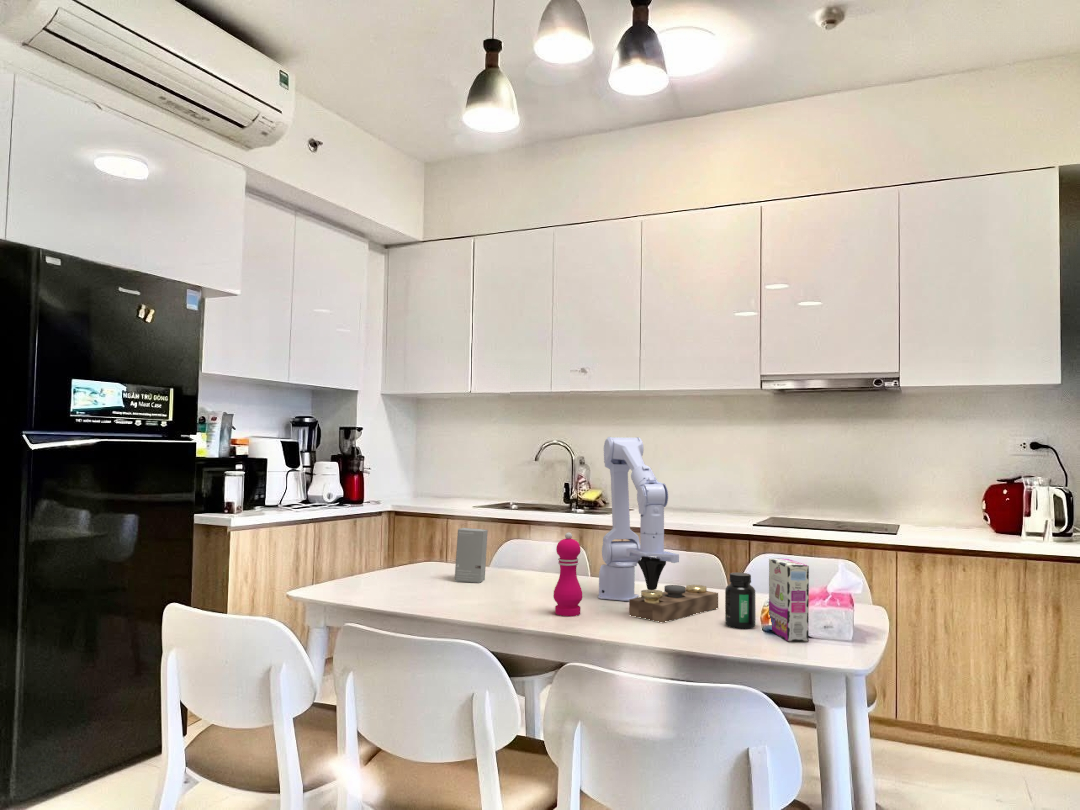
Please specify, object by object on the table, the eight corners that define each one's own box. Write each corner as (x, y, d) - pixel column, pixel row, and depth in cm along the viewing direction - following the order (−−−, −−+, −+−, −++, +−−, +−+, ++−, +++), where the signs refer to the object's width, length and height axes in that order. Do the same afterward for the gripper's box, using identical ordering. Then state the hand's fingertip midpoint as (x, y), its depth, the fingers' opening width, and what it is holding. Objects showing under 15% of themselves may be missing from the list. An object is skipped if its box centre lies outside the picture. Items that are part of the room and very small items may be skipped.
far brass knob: (699, 608, 192) (699, 589, 193) (682, 605, 196) (682, 586, 196) (710, 605, 196) (710, 586, 196) (693, 602, 200) (693, 584, 200)
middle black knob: (677, 609, 186) (677, 589, 186) (660, 605, 189) (660, 586, 190) (689, 606, 189) (689, 587, 190) (672, 603, 193) (672, 584, 193)
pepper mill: (585, 611, 188) (586, 531, 189) (577, 618, 182) (578, 534, 183) (558, 609, 191) (559, 530, 192) (549, 615, 184) (550, 533, 185)
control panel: (662, 623, 177) (662, 605, 178) (629, 615, 185) (629, 599, 185) (718, 608, 194) (718, 592, 194) (685, 602, 201) (685, 587, 201)
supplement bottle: (750, 631, 171) (750, 577, 172) (721, 626, 175) (721, 574, 175) (759, 625, 177) (759, 573, 177) (730, 621, 180) (730, 570, 181)
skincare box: (454, 582, 227) (455, 529, 227) (460, 578, 234) (461, 526, 235) (481, 583, 225) (482, 530, 226) (487, 579, 232) (488, 527, 233)
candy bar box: (810, 642, 162) (810, 565, 162) (787, 642, 161) (787, 565, 162) (788, 629, 173) (788, 557, 174) (767, 629, 172) (767, 557, 173)
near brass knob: (653, 615, 179) (654, 594, 179) (636, 611, 183) (636, 591, 183) (666, 611, 183) (667, 591, 183) (649, 608, 186) (649, 588, 187)
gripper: (618, 531, 186) (618, 587, 185) (666, 537, 176) (666, 595, 175) (636, 529, 191) (636, 583, 190) (684, 534, 181) (684, 592, 180)
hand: (651, 589), depth 183 cm, fingers closed
